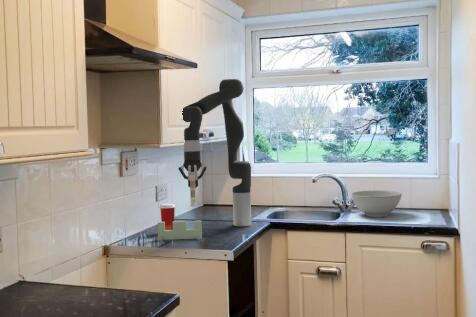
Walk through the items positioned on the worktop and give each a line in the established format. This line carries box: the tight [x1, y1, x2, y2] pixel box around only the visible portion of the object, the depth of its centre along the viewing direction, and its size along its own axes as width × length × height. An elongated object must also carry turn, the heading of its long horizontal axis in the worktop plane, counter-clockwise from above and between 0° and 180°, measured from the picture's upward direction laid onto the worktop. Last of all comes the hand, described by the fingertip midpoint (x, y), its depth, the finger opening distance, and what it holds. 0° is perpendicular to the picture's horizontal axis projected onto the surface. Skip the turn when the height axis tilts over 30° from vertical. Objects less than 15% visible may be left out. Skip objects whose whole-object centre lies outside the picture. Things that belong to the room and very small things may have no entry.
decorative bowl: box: [351, 190, 403, 218], centre depth 286 cm, size 27×27×12 cm
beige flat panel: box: [189, 172, 197, 207], centre depth 238 cm, size 16×2×15 cm, turn 3°
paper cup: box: [159, 202, 176, 230], centre depth 254 cm, size 8×8×14 cm
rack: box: [156, 220, 203, 242], centre depth 240 cm, size 8×20×8 cm, turn 92°
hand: (193, 187), depth 238 cm, fingers closed on beige flat panel, 2 cm apart
